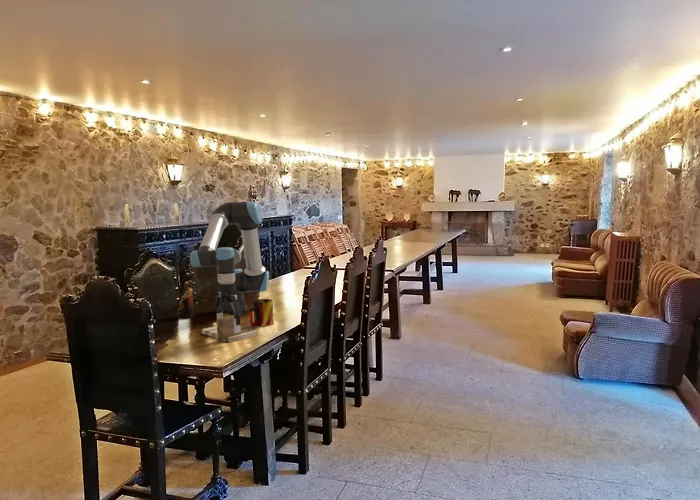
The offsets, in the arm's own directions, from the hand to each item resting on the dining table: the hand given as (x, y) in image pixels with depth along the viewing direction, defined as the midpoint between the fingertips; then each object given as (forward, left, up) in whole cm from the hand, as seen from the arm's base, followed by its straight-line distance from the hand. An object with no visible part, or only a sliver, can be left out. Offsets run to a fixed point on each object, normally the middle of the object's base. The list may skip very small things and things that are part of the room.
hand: (228, 329), depth 219 cm
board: (-8, +5, -4) cm, 10 cm away
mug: (-10, +26, -5) cm, 28 cm away
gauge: (0, +4, -4) cm, 6 cm away
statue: (-57, +9, -5) cm, 58 cm away
